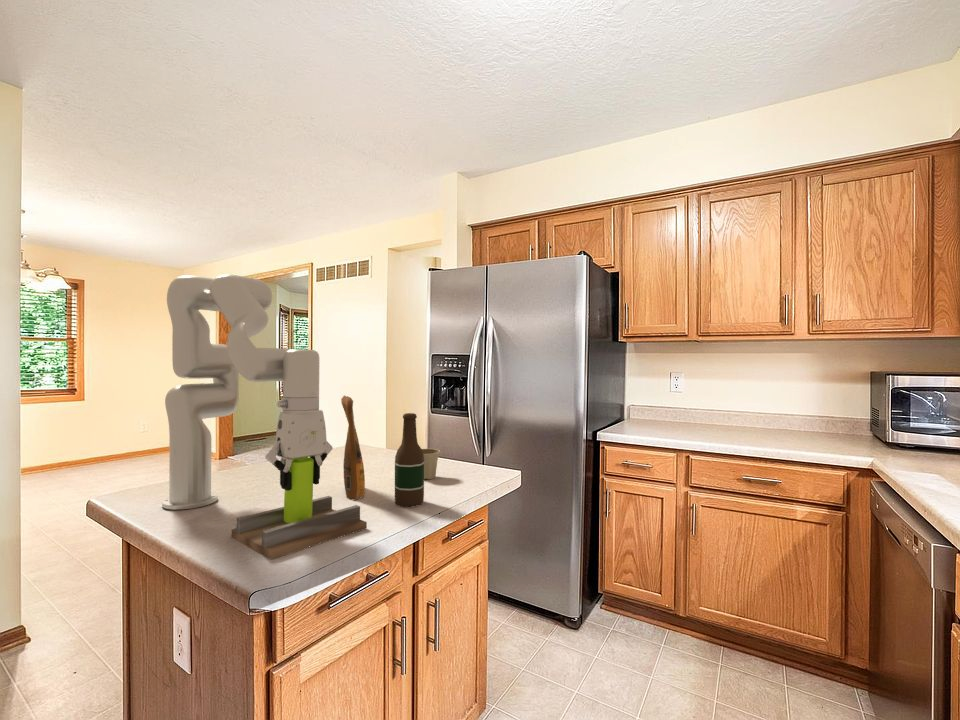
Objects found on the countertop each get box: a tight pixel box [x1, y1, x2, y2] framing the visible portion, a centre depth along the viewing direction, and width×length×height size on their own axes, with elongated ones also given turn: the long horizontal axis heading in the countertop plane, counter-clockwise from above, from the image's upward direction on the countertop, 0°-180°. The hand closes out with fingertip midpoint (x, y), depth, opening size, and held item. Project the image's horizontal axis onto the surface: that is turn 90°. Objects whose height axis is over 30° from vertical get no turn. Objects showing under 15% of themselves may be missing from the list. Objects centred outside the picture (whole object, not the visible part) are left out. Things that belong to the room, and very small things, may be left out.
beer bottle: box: [394, 412, 425, 508], centre depth 126 cm, size 8×8×24 cm
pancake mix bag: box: [340, 394, 366, 501], centre depth 136 cm, size 7×19×28 cm, turn 16°
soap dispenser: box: [283, 431, 316, 523], centre depth 105 cm, size 6×7×20 cm
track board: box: [231, 495, 368, 560], centre depth 104 cm, size 18×22×4 cm
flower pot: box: [421, 448, 441, 481], centre depth 154 cm, size 9×9×9 cm
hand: (300, 485), depth 104 cm, fingers closed on soap dispenser, 5 cm apart
